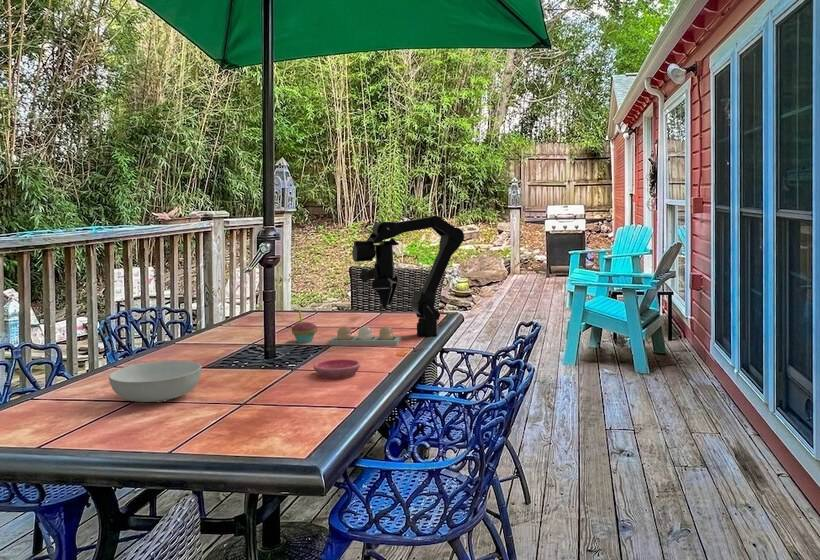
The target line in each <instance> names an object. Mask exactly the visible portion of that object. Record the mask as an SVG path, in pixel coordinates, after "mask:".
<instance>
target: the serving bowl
mask: <svg viewBox="0 0 820 560" xmlns="http://www.w3.org/2000/svg"><path fill="white" fill-rule="evenodd" d="M201 376H202V365H201V364H200V363H198V362H195V361H189V360H158V361H157V360H156V361H150V362H149V361H147V362H143V363H137V364H136V363H135V364H131V365H128V366H127V365H126V366H125V367H122V368H118V369H116V370H113V371H112V372H110V373H109V375H108V380H109V384H110V386H111V389H112V390H113V392H114V393H115V394H116V395H117V396H118V397H120V398H122V399H123V400H127V401H131V402H137V403H138V402H139V403H144V402H157V401H164V400H168V401H170V400H169V399H172V400H174V399H176V398H178V397H181V396H184V395H186V394H188V393H189V392H191V391H192V390H193V389H195V387H196V386H197V385H198V383H199V381H200V379H201ZM173 398H174V399H173ZM164 402H165V401H164ZM157 403H158V402H157Z"/></svg>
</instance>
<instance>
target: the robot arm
mask: <svg viewBox="0 0 820 560" xmlns="http://www.w3.org/2000/svg"><path fill="white" fill-rule="evenodd" d="M425 229H432V230H433V232H435V233H436V234H437V235H439V236H440V239H439V250H438V252H437V255H436V257H435V259H434V261H433V264H432V265H431V269H430V271H429V272H428V275H427V278H426V280H425V282H424V284H423V287H422V288H421V289H420V290H417V289H415V290H414V293H413V296H412V297H411V299H410V302H411V304H410V307H411V310H412V312H414V313H415V315H416V318H418V321H417V323H416V336H417V337H419V338H437V337H438V335H439V331H438V329H439V328H438V325H439V322H438V321H439V320H440V317H441V313H440V312H439V311H438V310H437V309H436V308H435V304H436V294H437V290H438V288H439V285H440V283H441V281H442V279H443V276H444V274H445V272H446V270H447V267H448V264H449V263H450V260H451V258H452V255H453V254H454V253H455V252H456V251H457V250H458V249H459V248H460V246H461V245H462V243H463V241H464V240H465V234H464V231H463V230H462V229H461V228H459V227H455V226H454V225H453V224H451V223H449V222H447V221H445V219H443V218H442V217H440V216H439V215H430V216H429V215H428V216H426V217H419V218H415V219H409V220H408V219H407V220H403V221H378V222H375V223H374V225H372V232H371V233H370V234H369V237H368V238H367V240H363V241H362V240H354V241H353V245H352V246H353V247H352V252H351V254H352V255H351V256H352V259H353V262H354V263H355V262H356V263H358V262H359V263H360V262H370V261H373V259H375V263H374V264H373V265H374V267H373V268H371V269H369V270H368V269H367V268H364V269H362V270H360V273H359V279H360V280H361V283H363V284H364V283H367V282H369V281H370V280H372V279H373V280H372V282H371V289H373V291H375V292H376V293H378V296H379V299H380V303H381V307H382V309H387V307H388V306H389V305H391V304H392V302H393V299H394V296H395V293H396V290H397V287H398V284H399V281H400V277H399V276H400V275H399V274H398V273H395V270H394V268H395V267H394V266H395V261H394V253H393V250H394V249H393V247H394V246H399V242H397V241H396V240H395V238H394V237H398V236H399V235H401V234H403V233H409V232H414V231H420V230H425Z"/></svg>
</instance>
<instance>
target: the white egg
mask: <svg viewBox="0 0 820 560" xmlns="http://www.w3.org/2000/svg"><path fill="white" fill-rule="evenodd" d="M357 332H358V334H357V336H358V340H372V336H373V332H372V329H371V328H370V327H369V326H367V325H366V326H365V325H364V326H361V327H360V328H359V329H358V331H357Z"/></svg>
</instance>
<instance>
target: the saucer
mask: <svg viewBox="0 0 820 560" xmlns="http://www.w3.org/2000/svg"><path fill="white" fill-rule="evenodd" d="M360 368H361V361H359V360H357V359H349V358H337V359H336V358H335V359H334V358H333V359H327V360H322V361H319V362H317V363H315V364H313V370H314V371H315V372H316V374H317V375H319V377H321V378H324V379H331V380H332V379H333V380H337V379H345V378H350V377H353V376H354V375H356V373H357V371H359V369H360Z"/></svg>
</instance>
